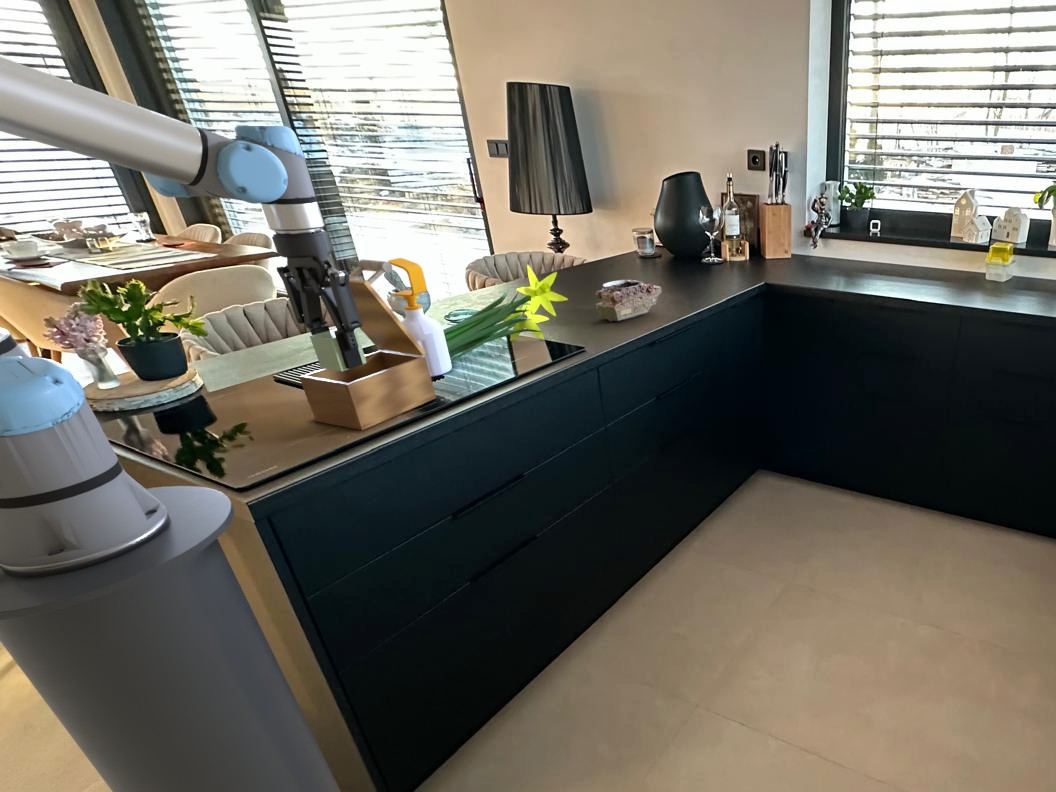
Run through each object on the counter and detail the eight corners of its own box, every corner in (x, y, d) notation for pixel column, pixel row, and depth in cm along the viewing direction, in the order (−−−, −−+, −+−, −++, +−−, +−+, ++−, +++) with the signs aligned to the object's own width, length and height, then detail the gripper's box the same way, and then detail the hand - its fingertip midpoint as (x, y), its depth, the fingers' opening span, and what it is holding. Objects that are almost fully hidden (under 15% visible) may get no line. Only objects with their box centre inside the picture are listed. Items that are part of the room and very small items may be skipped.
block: (341, 371, 111) (330, 339, 108) (320, 368, 112) (309, 335, 109) (367, 362, 115) (356, 331, 112) (346, 359, 116) (336, 328, 113)
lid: (363, 283, 109) (394, 254, 113) (314, 277, 112) (346, 249, 116) (423, 355, 122) (449, 327, 127) (378, 349, 125) (405, 321, 130)
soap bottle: (424, 363, 145) (395, 254, 134) (460, 366, 144) (434, 256, 133) (397, 376, 137) (364, 262, 126) (435, 379, 136) (405, 264, 125)
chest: (362, 430, 113) (347, 384, 109) (315, 421, 116) (298, 376, 112) (436, 398, 127) (425, 356, 123) (392, 390, 130) (380, 349, 126)
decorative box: (587, 316, 185) (582, 283, 180) (642, 305, 198) (639, 274, 194) (613, 325, 177) (609, 290, 173) (669, 312, 191) (666, 280, 186)
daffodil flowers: (421, 354, 153) (543, 295, 172) (457, 394, 151) (578, 329, 169) (402, 308, 139) (538, 249, 157) (442, 351, 137) (576, 285, 155)
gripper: (360, 230, 103) (398, 364, 114) (282, 224, 108) (325, 352, 119) (316, 236, 97) (361, 377, 108) (235, 229, 102) (286, 364, 112)
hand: (342, 364), depth 113 cm, fingers closed on block, 5 cm apart
